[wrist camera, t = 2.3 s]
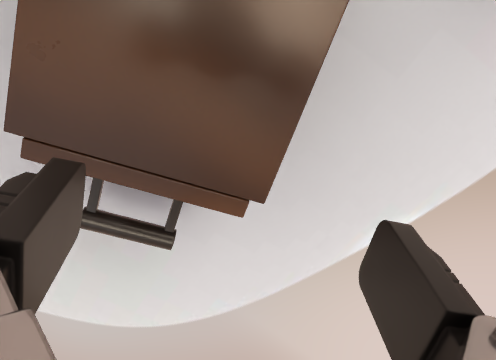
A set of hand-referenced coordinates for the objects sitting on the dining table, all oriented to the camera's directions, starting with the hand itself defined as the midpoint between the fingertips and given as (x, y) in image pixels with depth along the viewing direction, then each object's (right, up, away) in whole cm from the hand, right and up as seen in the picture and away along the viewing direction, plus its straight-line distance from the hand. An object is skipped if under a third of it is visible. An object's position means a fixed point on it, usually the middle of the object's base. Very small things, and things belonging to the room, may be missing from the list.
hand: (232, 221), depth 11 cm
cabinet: (-3, +12, +15) cm, 20 cm away
